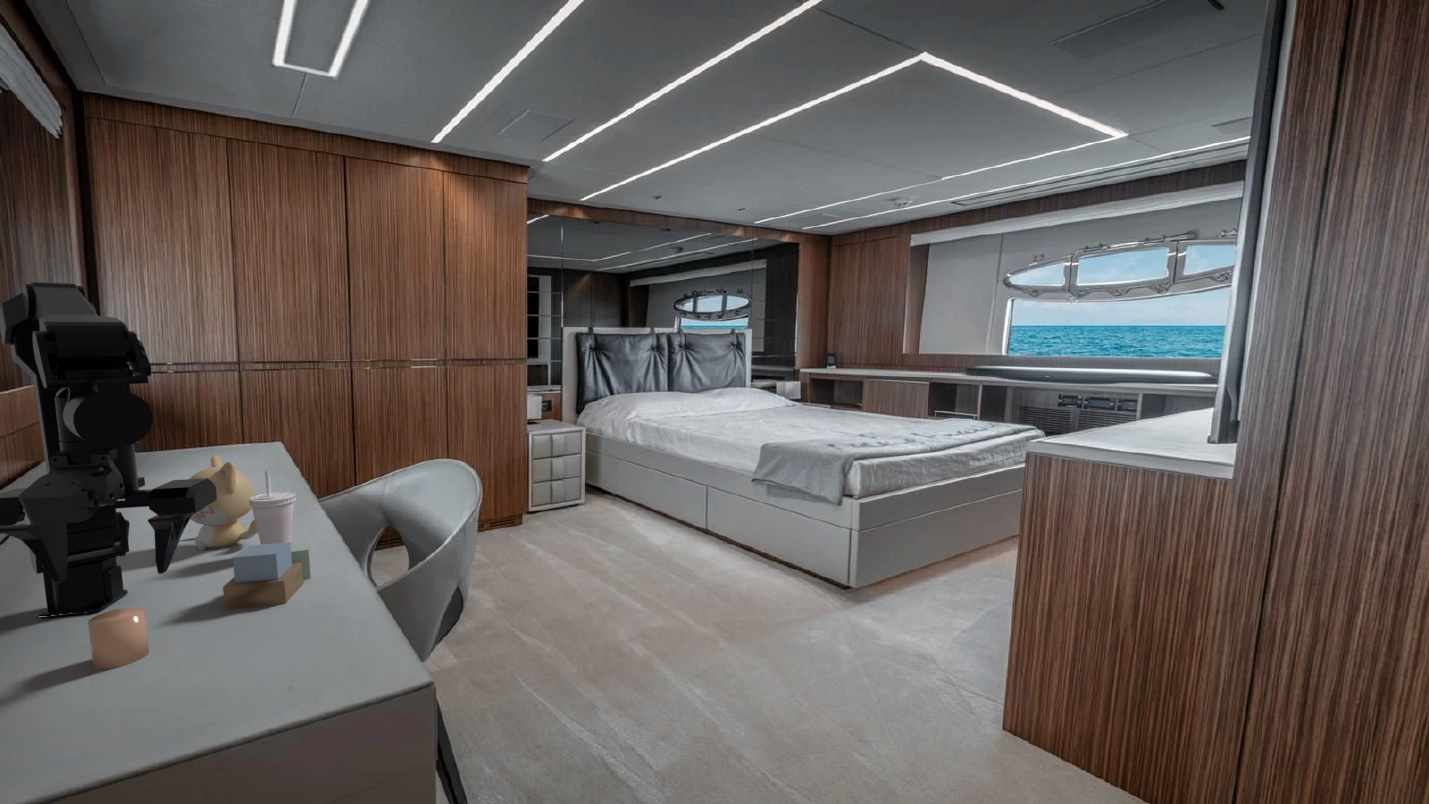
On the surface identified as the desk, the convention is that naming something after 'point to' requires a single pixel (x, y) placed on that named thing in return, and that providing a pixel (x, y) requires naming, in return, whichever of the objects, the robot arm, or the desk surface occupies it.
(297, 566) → the tower base
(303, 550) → the block
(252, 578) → the tower mid
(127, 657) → the clay cylinder
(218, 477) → the kitten
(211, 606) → the desk surface
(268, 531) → the smoothie
